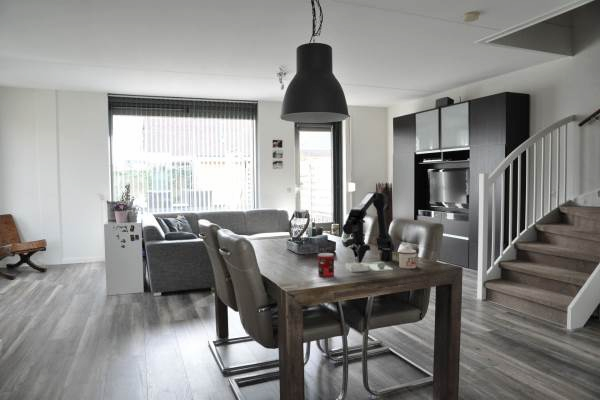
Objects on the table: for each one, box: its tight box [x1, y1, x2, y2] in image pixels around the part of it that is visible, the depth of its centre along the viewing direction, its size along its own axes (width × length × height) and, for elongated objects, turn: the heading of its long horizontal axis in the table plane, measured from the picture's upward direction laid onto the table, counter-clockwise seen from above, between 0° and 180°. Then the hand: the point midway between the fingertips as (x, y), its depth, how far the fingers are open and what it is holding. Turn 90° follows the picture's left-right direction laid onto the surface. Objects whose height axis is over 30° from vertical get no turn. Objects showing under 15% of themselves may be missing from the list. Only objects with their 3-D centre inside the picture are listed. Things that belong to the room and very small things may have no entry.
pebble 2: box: [377, 260, 386, 269], centre depth 227 cm, size 4×4×4 cm
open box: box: [344, 261, 371, 273], centre depth 228 cm, size 10×10×3 cm
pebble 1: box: [354, 256, 363, 264], centre depth 225 cm, size 4×4×4 cm
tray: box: [364, 261, 394, 272], centre depth 232 cm, size 10×18×1 cm, turn 14°
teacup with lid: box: [398, 245, 419, 269], centre depth 231 cm, size 12×9×12 cm
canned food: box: [317, 252, 335, 278], centre depth 217 cm, size 8×8×11 cm
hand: (358, 261), depth 225 cm, fingers closed on pebble 1, 4 cm apart
